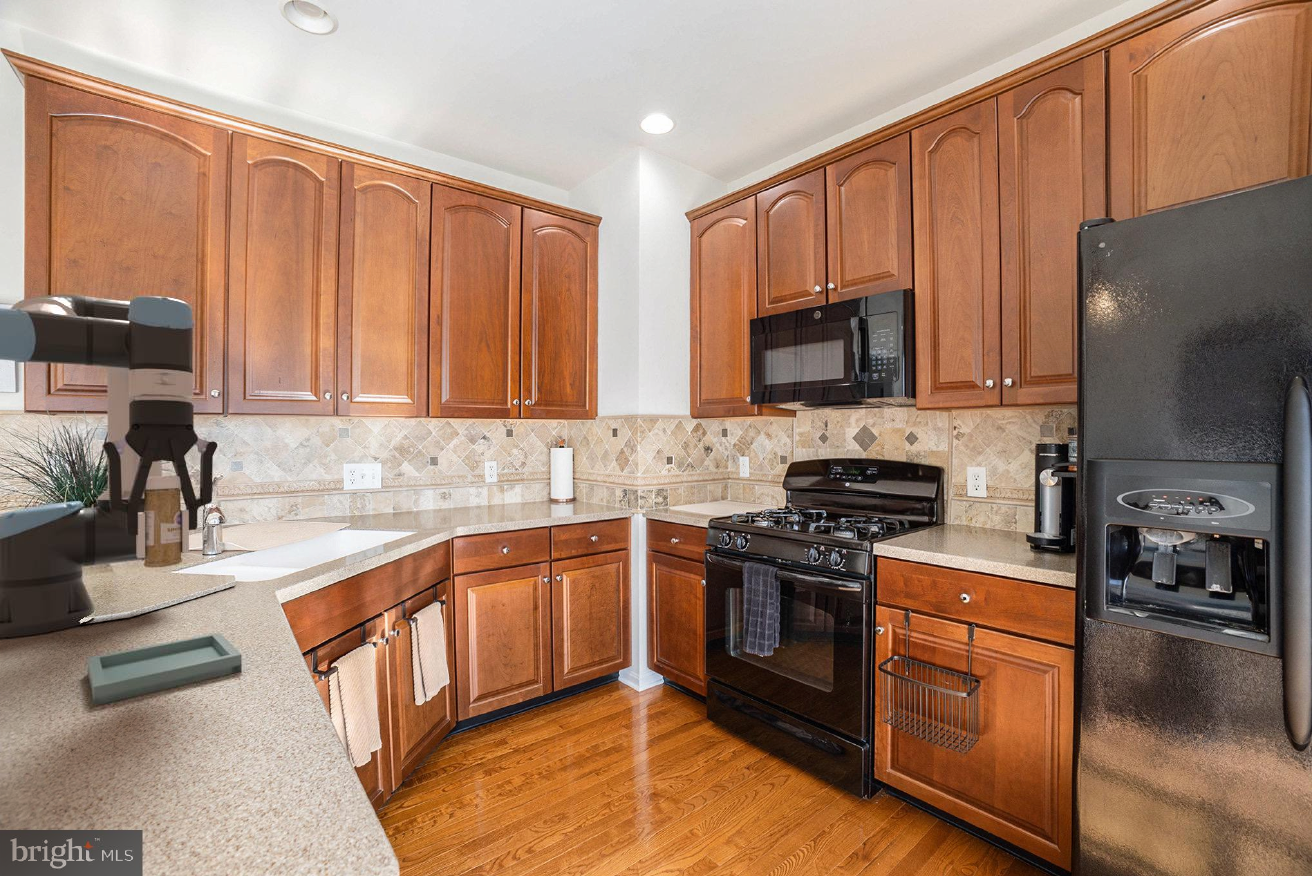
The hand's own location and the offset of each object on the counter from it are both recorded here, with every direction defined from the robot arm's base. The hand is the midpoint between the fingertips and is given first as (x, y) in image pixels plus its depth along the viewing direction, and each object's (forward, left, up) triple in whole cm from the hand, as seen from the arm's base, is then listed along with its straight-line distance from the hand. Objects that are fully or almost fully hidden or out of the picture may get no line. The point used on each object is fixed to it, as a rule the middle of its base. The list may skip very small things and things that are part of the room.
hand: (163, 554), depth 89 cm
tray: (+1, 0, -17) cm, 18 cm away
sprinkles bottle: (0, 0, -2) cm, 2 cm away
